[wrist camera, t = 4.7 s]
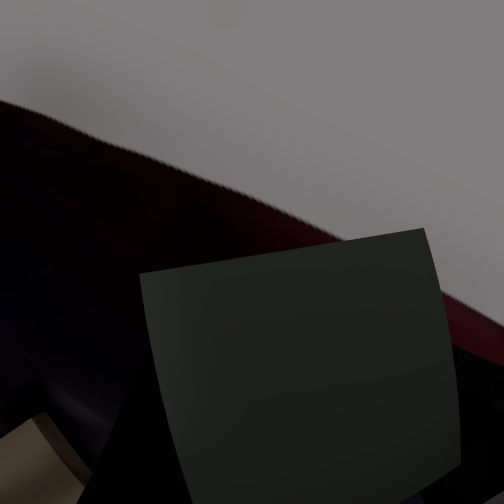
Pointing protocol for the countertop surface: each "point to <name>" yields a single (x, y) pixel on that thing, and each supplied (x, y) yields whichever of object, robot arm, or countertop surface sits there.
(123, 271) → the countertop surface
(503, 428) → the robot arm
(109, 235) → the countertop surface
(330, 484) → the sage block
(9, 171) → the countertop surface
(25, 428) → the oak block
